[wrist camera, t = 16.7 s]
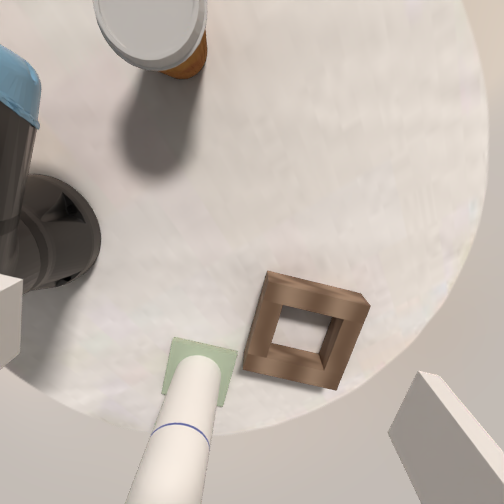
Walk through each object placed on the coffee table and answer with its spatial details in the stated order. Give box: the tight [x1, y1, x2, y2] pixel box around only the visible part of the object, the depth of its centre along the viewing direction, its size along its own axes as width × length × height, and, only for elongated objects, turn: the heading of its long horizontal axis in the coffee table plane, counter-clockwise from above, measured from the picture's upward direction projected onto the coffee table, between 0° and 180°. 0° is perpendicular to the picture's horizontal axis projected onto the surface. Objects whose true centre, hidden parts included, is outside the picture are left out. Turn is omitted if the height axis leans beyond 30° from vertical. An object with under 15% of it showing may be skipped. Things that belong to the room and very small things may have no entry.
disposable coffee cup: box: [93, 0, 207, 79], centre depth 31 cm, size 10×10×12 cm
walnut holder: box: [243, 271, 370, 390], centre depth 45 cm, size 14×14×4 cm
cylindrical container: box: [125, 355, 221, 504], centre depth 36 cm, size 7×7×25 cm
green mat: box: [161, 337, 238, 407], centre depth 49 cm, size 10×10×1 cm
